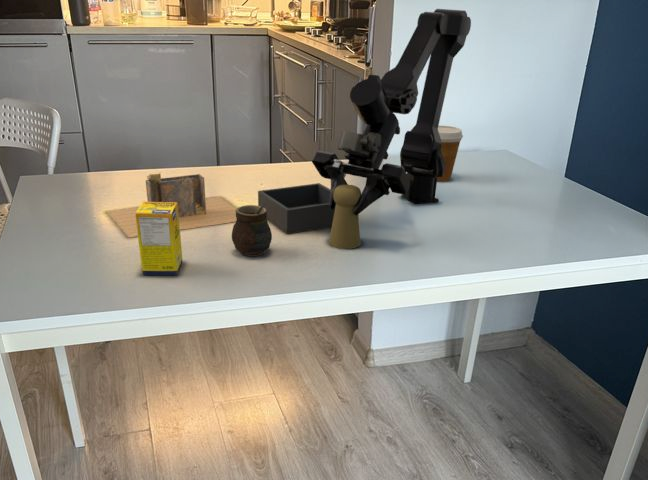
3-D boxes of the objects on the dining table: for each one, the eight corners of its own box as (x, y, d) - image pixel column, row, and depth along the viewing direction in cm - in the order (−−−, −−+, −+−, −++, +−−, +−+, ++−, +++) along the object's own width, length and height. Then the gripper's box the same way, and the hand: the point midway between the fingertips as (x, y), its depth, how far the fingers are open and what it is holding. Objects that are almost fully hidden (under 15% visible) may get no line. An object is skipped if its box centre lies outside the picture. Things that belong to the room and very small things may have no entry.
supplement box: (182, 262, 118) (178, 201, 112) (177, 276, 113) (172, 213, 107) (148, 261, 117) (142, 200, 112) (141, 275, 112) (134, 212, 107)
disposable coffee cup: (416, 180, 166) (421, 131, 160) (422, 171, 174) (427, 123, 168) (454, 185, 164) (461, 135, 158) (459, 175, 172) (465, 127, 166)
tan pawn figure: (323, 244, 127) (325, 187, 122) (337, 235, 132) (340, 179, 126) (352, 251, 125) (355, 193, 119) (365, 241, 130) (369, 184, 124)
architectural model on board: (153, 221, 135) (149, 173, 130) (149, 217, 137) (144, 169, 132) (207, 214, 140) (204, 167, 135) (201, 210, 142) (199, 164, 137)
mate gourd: (252, 241, 127) (250, 189, 122) (281, 251, 123) (281, 198, 118) (224, 251, 122) (221, 198, 117) (254, 263, 118) (252, 208, 113)
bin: (318, 204, 148) (319, 182, 146) (350, 223, 138) (351, 200, 135) (258, 213, 142) (257, 190, 139) (287, 233, 132) (287, 210, 129)
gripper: (318, 106, 124) (283, 178, 121) (409, 120, 115) (374, 198, 113) (338, 142, 134) (306, 209, 131) (424, 157, 125) (391, 230, 123)
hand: (342, 211), depth 124 cm, fingers closed on tan pawn figure, 5 cm apart
